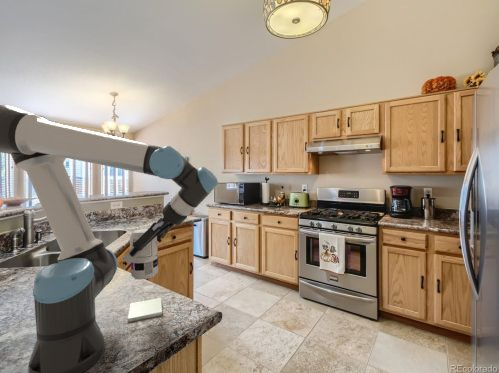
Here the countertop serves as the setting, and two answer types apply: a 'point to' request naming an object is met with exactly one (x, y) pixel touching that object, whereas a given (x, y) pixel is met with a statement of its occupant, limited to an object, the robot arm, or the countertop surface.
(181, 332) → the countertop surface
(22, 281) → the countertop surface
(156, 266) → the supplement can
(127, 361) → the countertop surface
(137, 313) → the white square coaster
